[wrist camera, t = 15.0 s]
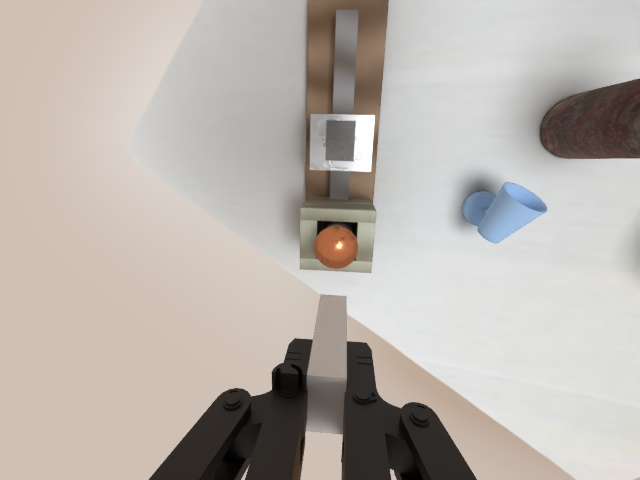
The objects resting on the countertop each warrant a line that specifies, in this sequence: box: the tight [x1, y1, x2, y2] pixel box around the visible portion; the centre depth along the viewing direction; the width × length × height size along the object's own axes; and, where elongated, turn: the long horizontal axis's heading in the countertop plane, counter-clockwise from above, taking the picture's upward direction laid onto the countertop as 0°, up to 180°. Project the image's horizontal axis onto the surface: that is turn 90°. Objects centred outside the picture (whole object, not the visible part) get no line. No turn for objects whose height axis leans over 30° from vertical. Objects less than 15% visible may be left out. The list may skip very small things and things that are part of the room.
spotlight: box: [462, 182, 547, 243], centre depth 36 cm, size 5×10×7 cm
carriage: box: [310, 114, 375, 172], centre depth 31 cm, size 6×7×12 cm
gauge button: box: [314, 221, 358, 269], centre depth 34 cm, size 4×4×8 cm
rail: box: [300, 0, 389, 273], centre depth 34 cm, size 30×9×10 cm, turn 178°
